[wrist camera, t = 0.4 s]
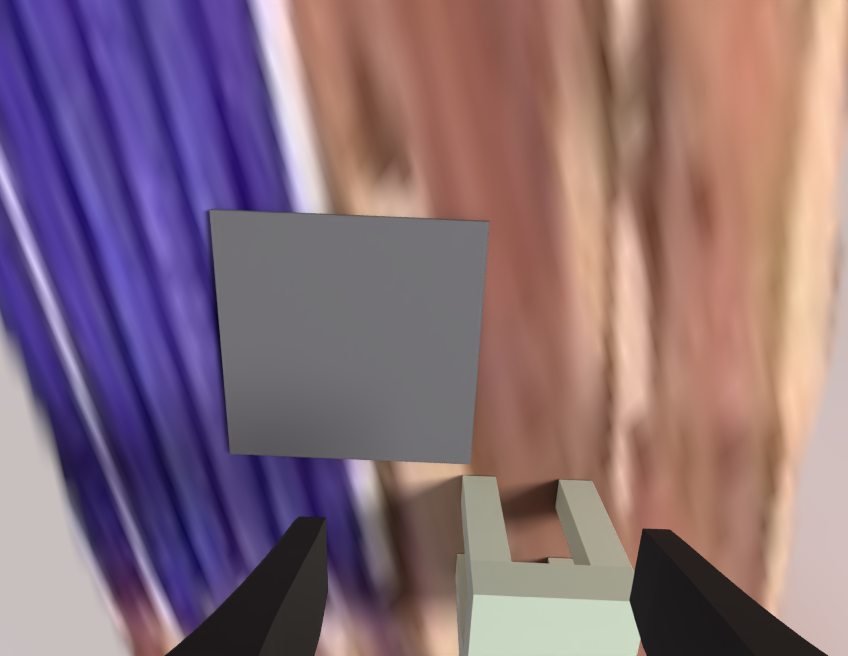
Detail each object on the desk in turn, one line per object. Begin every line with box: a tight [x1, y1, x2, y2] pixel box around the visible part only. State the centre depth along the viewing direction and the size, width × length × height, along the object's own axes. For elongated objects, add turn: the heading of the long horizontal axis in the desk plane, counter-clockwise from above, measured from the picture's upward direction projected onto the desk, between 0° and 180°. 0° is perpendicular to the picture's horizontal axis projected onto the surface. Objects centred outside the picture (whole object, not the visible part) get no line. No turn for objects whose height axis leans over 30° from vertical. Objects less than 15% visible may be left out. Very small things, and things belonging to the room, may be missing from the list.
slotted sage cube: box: [455, 475, 640, 656], centre depth 21 cm, size 6×6×6 cm
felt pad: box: [209, 209, 489, 464], centre depth 22 cm, size 10×10×1 cm
